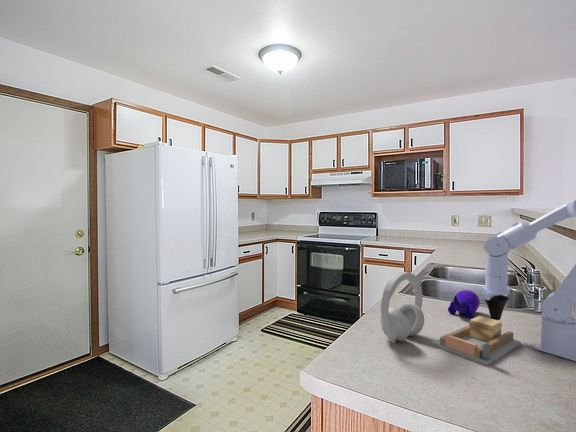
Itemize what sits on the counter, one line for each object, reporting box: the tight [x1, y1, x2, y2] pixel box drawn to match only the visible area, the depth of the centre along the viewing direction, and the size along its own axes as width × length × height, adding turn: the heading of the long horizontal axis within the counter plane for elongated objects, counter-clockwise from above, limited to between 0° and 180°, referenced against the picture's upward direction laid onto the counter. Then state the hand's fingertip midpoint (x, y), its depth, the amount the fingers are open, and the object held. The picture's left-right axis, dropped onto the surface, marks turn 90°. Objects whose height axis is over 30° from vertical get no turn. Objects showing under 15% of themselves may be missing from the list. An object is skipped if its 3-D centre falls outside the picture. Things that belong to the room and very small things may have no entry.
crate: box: [468, 315, 503, 342], centre depth 94 cm, size 6×6×5 cm
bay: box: [433, 324, 521, 367], centre depth 91 cm, size 14×21×5 cm, turn 125°
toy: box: [447, 289, 481, 319], centre depth 117 cm, size 9×10×15 cm
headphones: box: [379, 271, 425, 344], centre depth 96 cm, size 19×8×20 cm, turn 127°
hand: (495, 319), depth 98 cm, fingers closed
